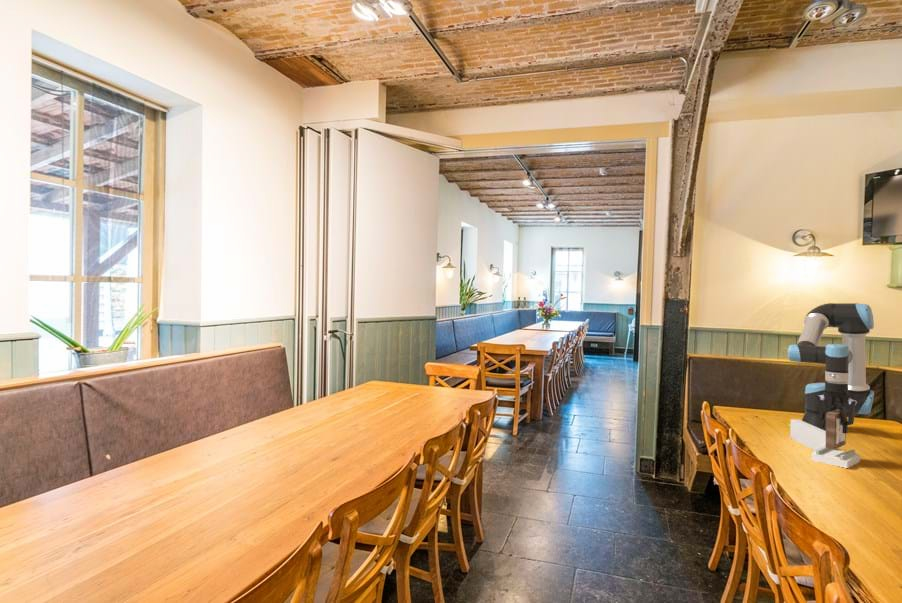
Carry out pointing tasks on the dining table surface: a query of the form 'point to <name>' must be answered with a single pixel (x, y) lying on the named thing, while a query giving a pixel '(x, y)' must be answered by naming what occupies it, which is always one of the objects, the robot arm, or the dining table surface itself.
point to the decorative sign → (807, 434)
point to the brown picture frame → (833, 430)
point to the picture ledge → (835, 457)
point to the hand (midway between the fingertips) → (835, 439)
